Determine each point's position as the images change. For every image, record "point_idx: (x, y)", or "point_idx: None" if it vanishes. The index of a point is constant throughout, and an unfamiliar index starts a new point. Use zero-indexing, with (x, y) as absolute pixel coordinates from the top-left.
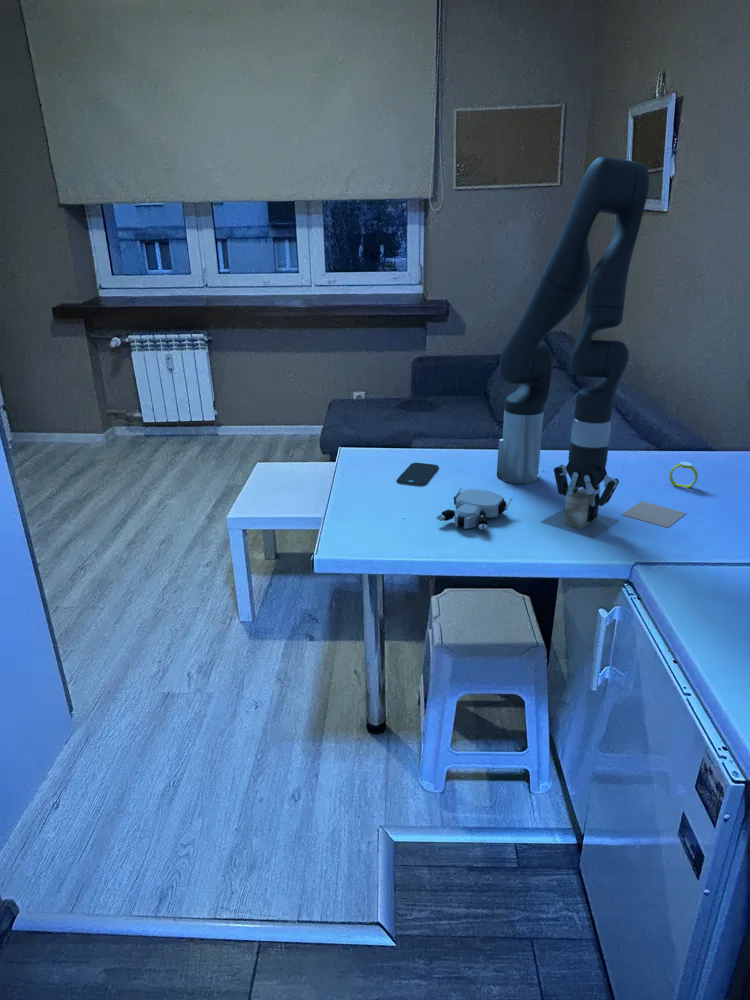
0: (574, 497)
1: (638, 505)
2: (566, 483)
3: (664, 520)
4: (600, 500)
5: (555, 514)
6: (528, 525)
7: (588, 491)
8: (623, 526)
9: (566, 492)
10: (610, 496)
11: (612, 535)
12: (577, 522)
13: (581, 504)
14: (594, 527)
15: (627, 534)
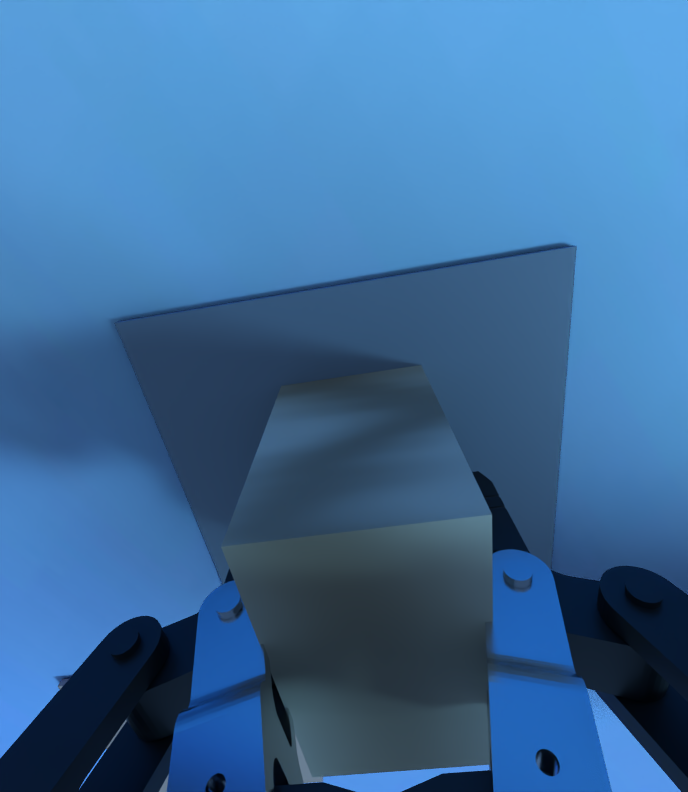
0: (406, 576)
1: (300, 754)
2: (677, 761)
3: (125, 720)
4: (120, 678)
5: (548, 441)
6: (637, 103)
7: (232, 757)
8: (181, 584)
9: (575, 622)
10: (83, 784)
11: (115, 464)
12: (307, 399)
13: (258, 513)
14: (245, 466)
15: (89, 529)
